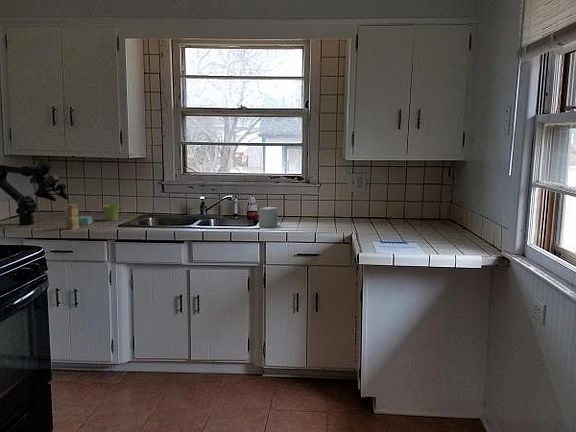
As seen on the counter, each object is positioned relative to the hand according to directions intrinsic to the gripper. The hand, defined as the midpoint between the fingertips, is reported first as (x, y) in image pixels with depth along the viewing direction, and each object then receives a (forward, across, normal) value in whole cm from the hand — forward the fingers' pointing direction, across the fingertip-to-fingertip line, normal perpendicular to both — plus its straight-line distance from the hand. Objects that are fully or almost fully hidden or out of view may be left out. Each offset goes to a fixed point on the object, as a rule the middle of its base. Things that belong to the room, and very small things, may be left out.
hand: (61, 199), depth 289 cm
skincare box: (+92, +44, -50) cm, 114 cm away
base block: (+12, +13, +10) cm, 20 cm away
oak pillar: (+15, -2, +7) cm, 17 cm away
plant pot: (+17, +30, +6) cm, 35 cm away
